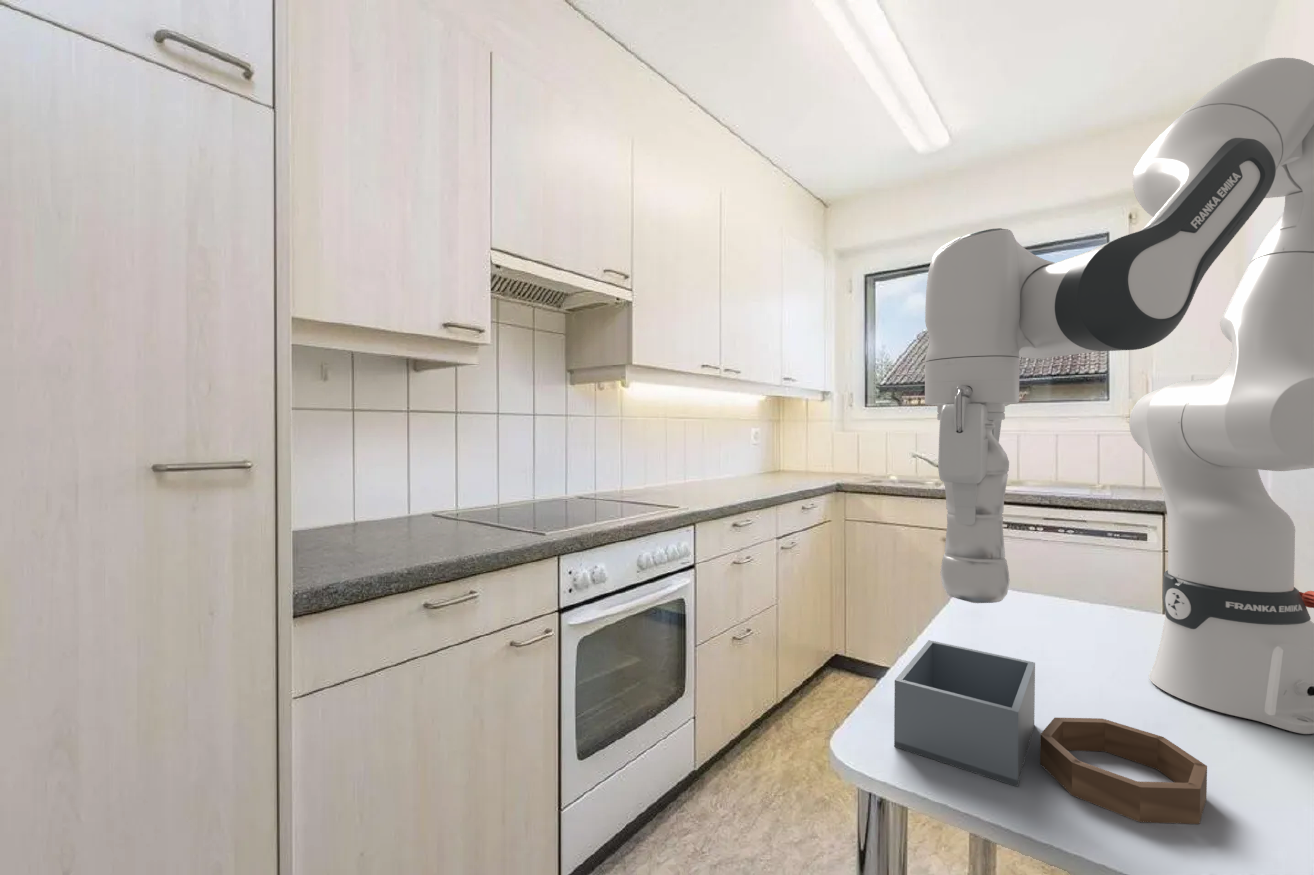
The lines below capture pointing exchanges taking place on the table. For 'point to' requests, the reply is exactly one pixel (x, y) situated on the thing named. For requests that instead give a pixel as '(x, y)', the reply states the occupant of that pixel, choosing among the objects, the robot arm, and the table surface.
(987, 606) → the table surface
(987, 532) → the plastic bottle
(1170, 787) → the collar
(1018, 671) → the bin
